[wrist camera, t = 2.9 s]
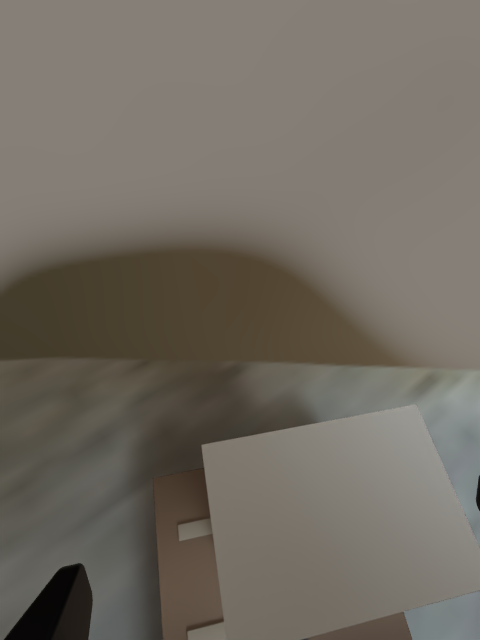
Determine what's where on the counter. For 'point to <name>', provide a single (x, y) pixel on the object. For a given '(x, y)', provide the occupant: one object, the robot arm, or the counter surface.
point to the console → (213, 569)
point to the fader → (335, 526)
